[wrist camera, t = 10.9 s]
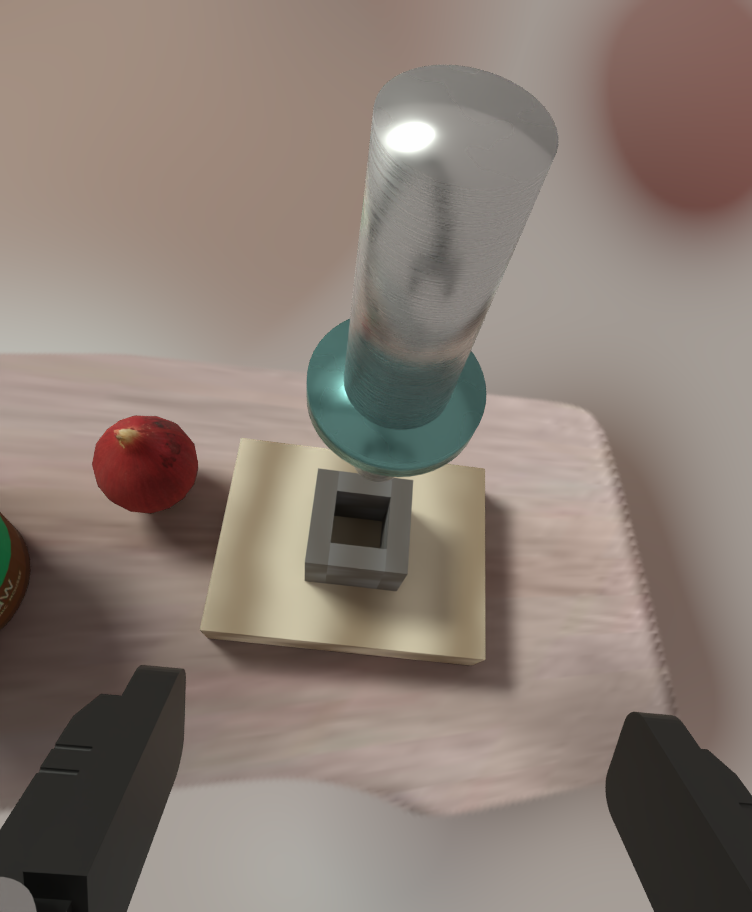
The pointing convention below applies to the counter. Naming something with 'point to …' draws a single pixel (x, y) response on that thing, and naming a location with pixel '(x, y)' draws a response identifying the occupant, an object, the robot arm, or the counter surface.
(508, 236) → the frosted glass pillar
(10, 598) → the food container
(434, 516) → the wooden base with socket
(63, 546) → the counter surface
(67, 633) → the counter surface
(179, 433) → the onion
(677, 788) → the robot arm
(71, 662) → the counter surface
